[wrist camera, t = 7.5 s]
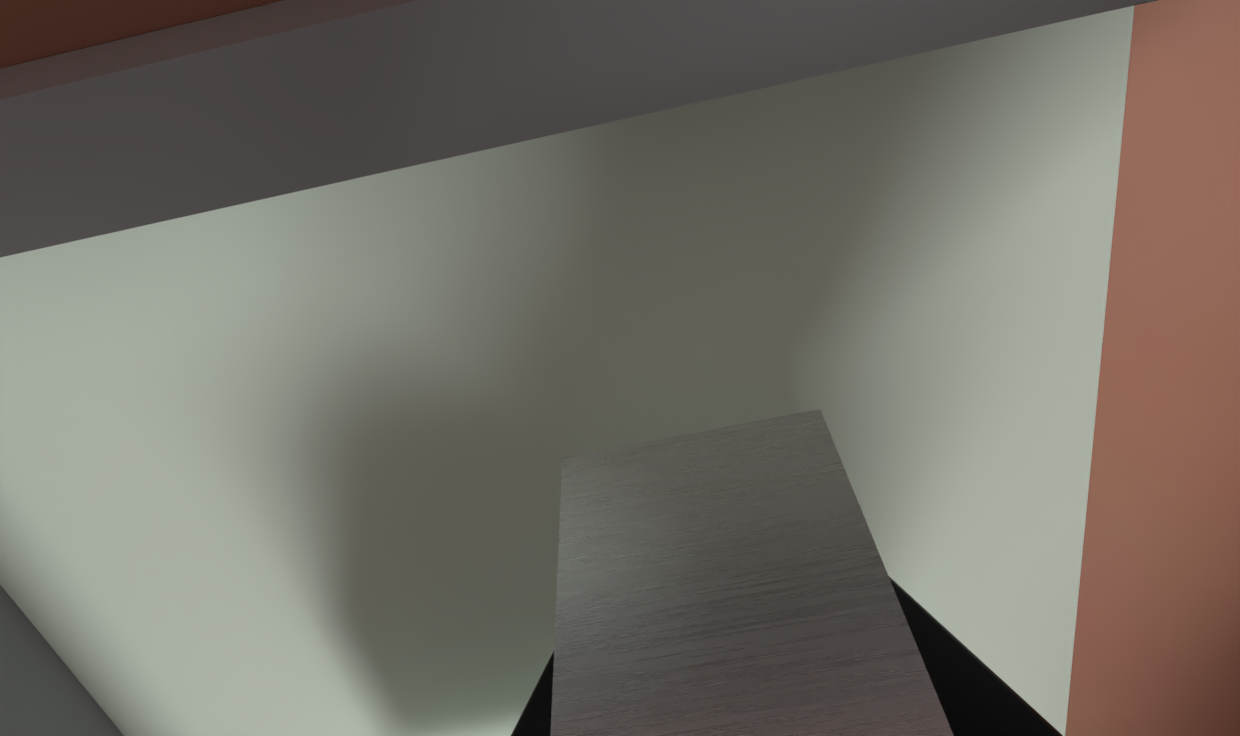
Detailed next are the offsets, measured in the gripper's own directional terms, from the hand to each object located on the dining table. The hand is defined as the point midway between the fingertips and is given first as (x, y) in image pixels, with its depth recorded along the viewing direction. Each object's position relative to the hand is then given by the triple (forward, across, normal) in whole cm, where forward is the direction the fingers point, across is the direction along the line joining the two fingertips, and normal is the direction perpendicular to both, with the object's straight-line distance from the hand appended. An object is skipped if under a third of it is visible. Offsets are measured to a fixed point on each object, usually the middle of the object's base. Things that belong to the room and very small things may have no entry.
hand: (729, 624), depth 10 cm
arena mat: (+3, +2, +2) cm, 4 cm away
